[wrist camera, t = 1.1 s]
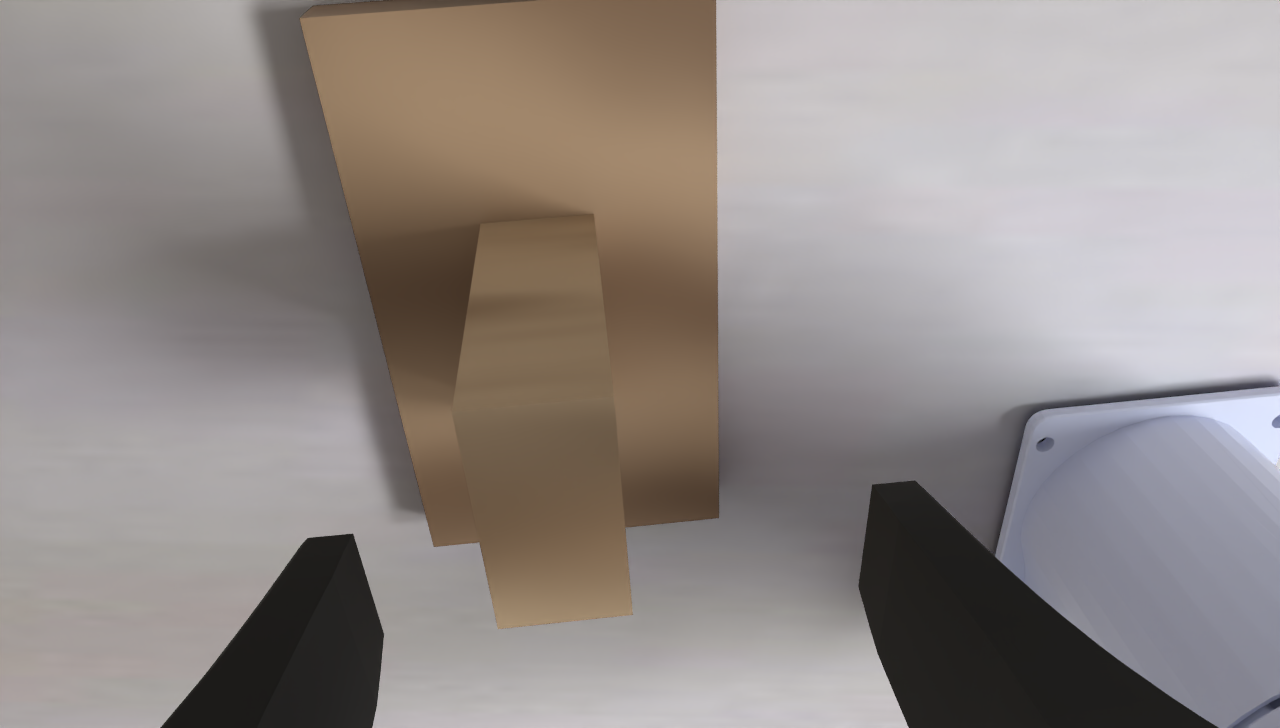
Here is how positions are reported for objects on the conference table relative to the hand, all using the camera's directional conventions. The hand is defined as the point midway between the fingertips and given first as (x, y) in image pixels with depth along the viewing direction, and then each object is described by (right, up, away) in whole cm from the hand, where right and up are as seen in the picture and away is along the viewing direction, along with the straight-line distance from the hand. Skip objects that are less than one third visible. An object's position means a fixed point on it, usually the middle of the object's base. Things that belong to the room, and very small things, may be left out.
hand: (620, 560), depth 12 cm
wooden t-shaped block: (-2, +5, +10) cm, 11 cm away
